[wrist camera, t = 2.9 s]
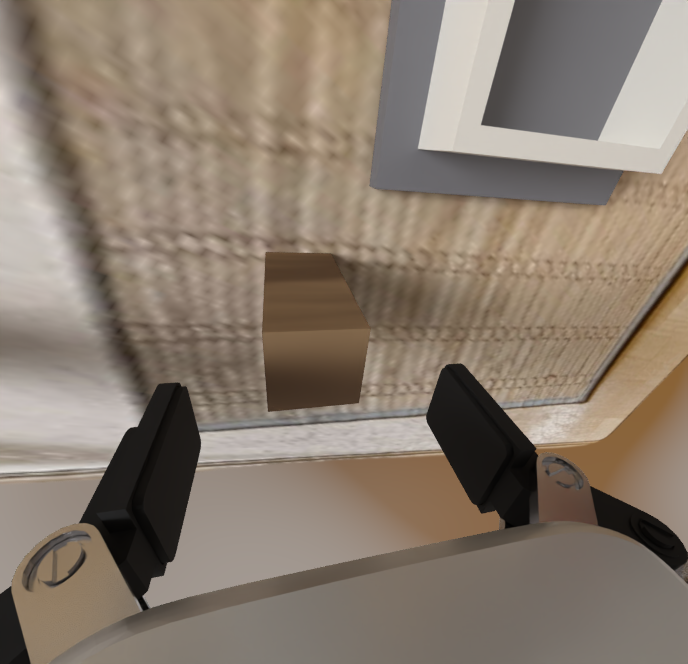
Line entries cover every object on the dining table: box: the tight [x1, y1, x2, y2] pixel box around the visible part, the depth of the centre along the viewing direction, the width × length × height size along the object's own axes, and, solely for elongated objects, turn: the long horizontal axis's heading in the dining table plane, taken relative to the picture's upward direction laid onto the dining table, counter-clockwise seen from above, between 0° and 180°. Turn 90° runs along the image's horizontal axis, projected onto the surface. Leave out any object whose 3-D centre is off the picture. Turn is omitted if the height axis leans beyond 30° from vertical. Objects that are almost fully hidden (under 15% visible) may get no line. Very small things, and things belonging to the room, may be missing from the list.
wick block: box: [262, 252, 371, 412], centre depth 15 cm, size 4×4×9 cm
